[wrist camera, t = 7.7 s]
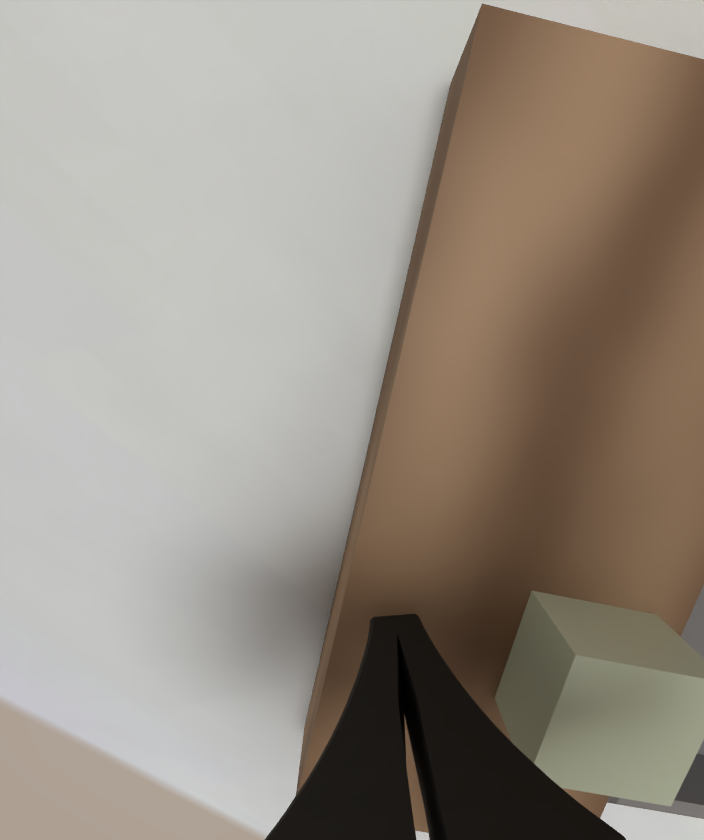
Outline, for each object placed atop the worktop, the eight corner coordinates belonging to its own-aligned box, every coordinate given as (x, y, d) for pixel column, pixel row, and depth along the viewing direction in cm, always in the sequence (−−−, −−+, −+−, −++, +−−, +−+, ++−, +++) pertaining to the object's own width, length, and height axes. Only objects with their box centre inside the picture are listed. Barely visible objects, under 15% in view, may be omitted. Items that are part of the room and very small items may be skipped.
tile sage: (656, 614, 12) (730, 683, 10) (612, 719, 13) (671, 806, 11) (531, 590, 12) (575, 654, 10) (494, 698, 13) (526, 782, 11)
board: (782, 163, 12) (913, 112, 10) (544, 769, 18) (582, 857, 15) (450, 82, 12) (482, 4, 9) (304, 728, 17) (294, 810, 14)
